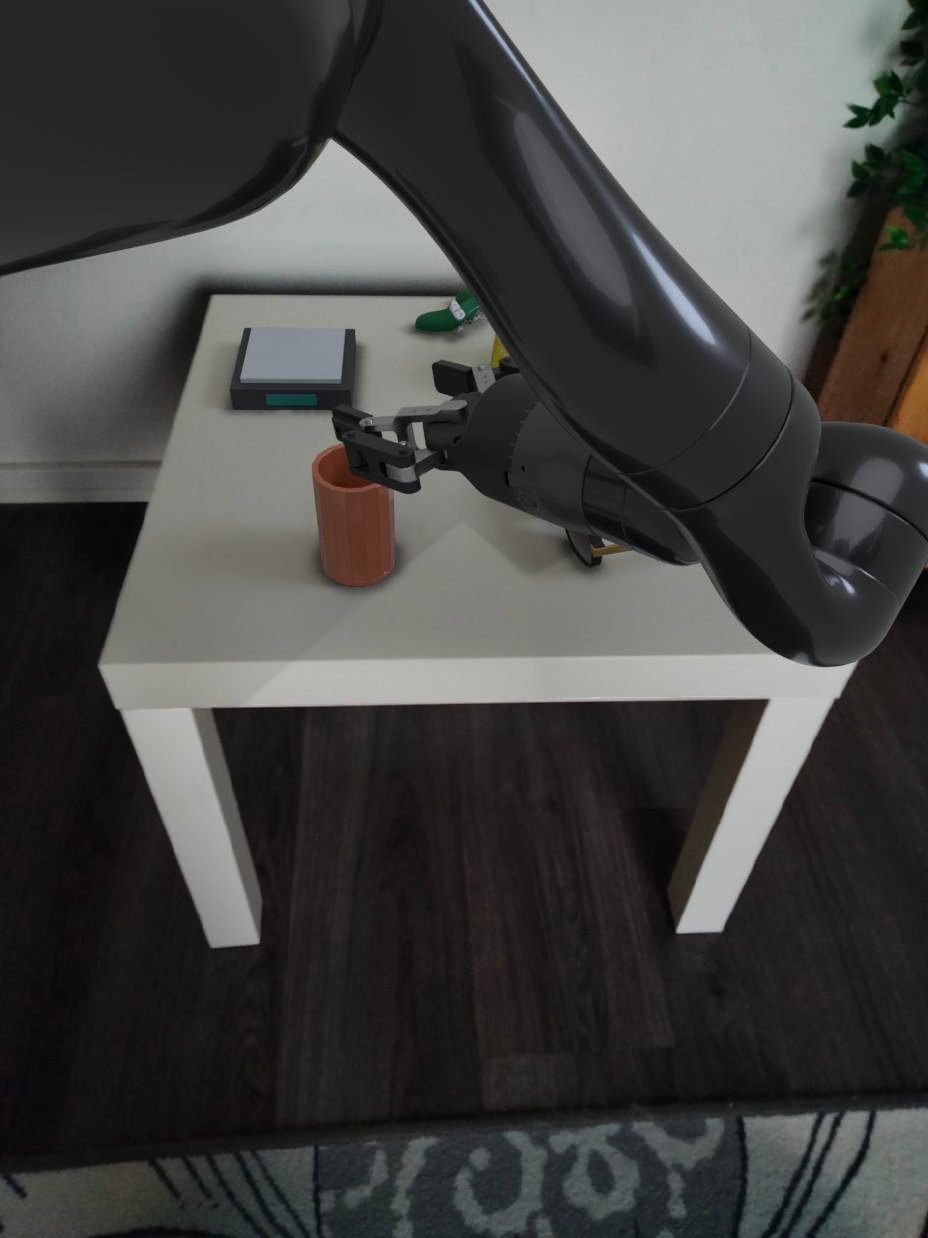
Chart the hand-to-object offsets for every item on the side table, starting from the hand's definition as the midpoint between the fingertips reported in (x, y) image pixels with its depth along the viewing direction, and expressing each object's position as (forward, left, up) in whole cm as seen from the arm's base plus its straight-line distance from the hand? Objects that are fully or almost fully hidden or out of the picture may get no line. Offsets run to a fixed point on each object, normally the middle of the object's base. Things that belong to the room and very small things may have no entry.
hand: (389, 397), depth 61 cm
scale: (+18, +28, -18) cm, 38 cm away
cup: (+1, +4, -18) cm, 19 cm away
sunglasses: (+21, -11, -19) cm, 30 cm away
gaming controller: (+38, +22, -19) cm, 47 cm away
